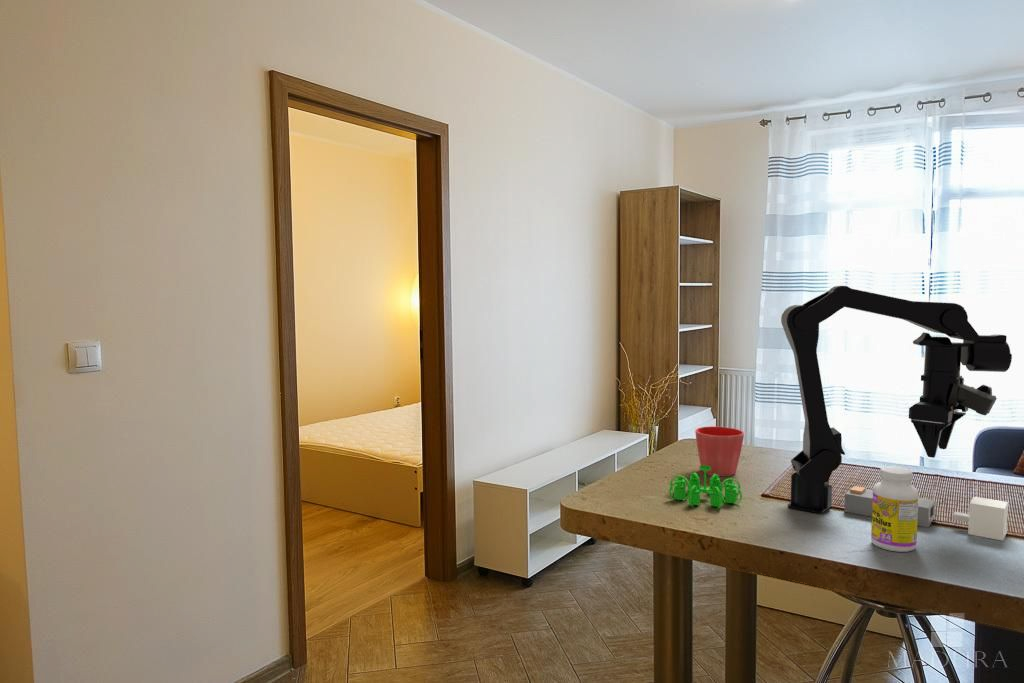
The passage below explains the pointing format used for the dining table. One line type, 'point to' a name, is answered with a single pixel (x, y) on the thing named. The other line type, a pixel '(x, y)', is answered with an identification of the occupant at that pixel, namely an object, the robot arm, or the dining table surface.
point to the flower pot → (719, 449)
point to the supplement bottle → (895, 510)
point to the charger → (985, 518)
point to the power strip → (862, 501)
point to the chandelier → (705, 489)
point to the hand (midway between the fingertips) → (937, 452)
